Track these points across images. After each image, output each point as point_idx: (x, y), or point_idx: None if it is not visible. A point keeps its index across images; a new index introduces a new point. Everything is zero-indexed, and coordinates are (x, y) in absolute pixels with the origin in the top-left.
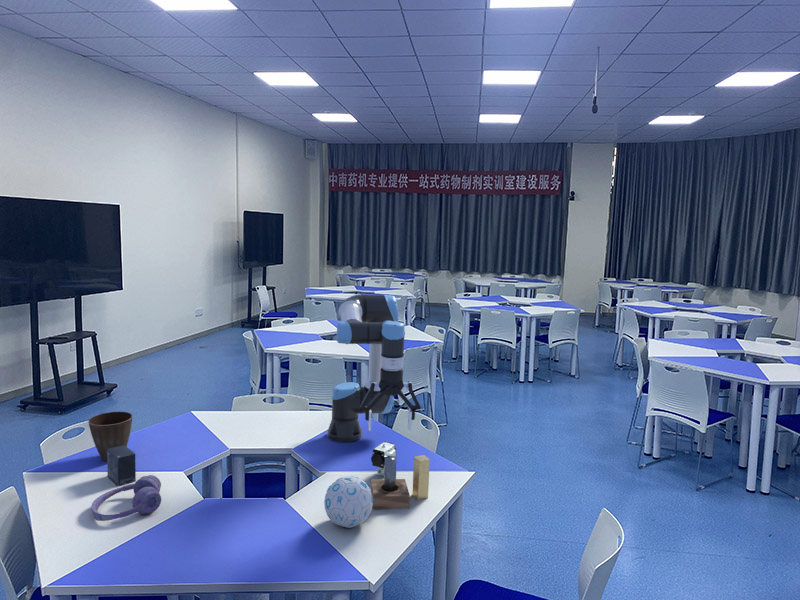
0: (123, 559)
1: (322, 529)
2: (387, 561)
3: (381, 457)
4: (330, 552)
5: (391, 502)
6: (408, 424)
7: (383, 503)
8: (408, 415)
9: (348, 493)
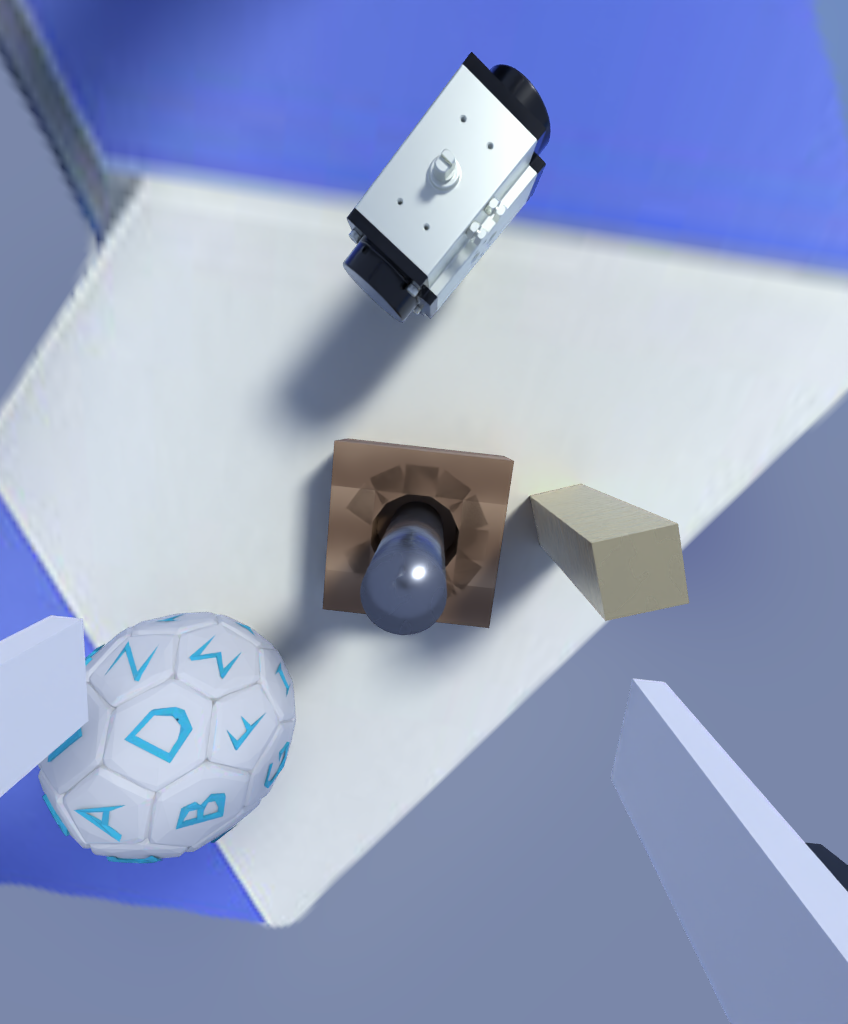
0: None
1: None
2: (335, 871)
3: (405, 300)
4: None
5: None
6: (651, 771)
7: None
8: (762, 879)
9: (124, 862)
